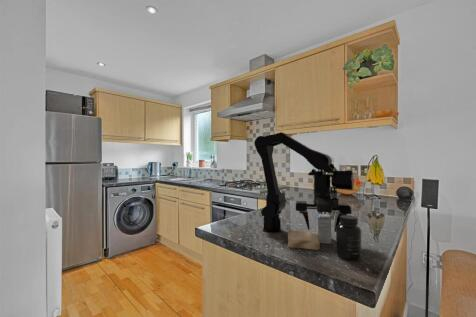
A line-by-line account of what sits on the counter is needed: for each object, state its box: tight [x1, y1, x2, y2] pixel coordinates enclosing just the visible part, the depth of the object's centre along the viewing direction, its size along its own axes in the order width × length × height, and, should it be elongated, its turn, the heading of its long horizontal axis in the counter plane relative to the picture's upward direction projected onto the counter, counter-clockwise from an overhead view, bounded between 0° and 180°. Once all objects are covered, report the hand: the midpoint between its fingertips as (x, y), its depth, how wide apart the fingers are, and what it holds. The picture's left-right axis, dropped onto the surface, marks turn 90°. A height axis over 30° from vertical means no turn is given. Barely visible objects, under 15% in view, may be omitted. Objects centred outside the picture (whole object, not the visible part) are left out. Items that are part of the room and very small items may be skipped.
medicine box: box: [315, 213, 332, 245], centre depth 81 cm, size 8×4×9 cm, turn 168°
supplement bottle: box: [335, 214, 362, 262], centre depth 67 cm, size 7×7×12 cm
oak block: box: [287, 229, 321, 251], centre depth 78 cm, size 10×10×3 cm
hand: (321, 230), depth 81 cm, fingers open, 9 cm apart
